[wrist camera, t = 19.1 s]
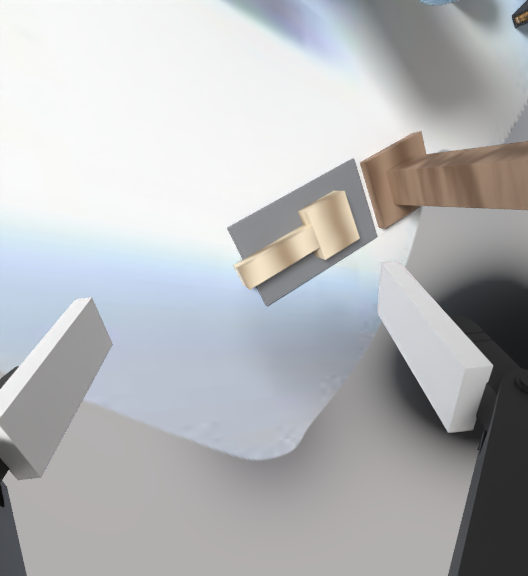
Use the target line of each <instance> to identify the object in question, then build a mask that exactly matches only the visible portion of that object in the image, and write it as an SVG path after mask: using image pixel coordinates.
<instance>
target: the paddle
mask: <svg viewBox="0 0 528 576" xmlns="http://www.w3.org/2000/svg"><path fill="white" fill-rule="evenodd" d="M298 213H299V216H300V218H301V221H302V223H303V225H302V226H300V227H298V228H297V229H295V230H293V231H292V232H290V233H288V234H286V235H285V236H283V237H281V238H280V239H278V240H276V241H274V242H273V243H271V244H269V245H268V246H266V247H264V248H262V249H261V250H259V251H257V252H256V253H254V254H252V255H250V256H249V257H247V258H245V259H244V260H242V261H240V262H238V263H237V264H235V265H233V266H234V268H235V270H236V272H237V273H238V275H239V277H240V279H241V281H242V283H243V285H244V286H246V287H247V288H248V289H252V288H254V287H255V286H257V285H259V284H260V283H262V282H264V281H265V280H267V279H268V278H270V277H272V276H273V275H275V274H277V273H278V272H280V271H282V270H283V269H285V268H287V267H288V266H290V265H291V264H293V263H295V262H296V261H298V260H300V259H301V258H303V257H305V256H306V255H308V254H310V253H311V252H313V251H314V254H315V256H316V257H318V258H321V259H324V260H326V259H328V258H329V257H331V256H332V255H334V254H336V253H337V252H339V251H340V250H342V249H344V248H345V247H347V246H349V245H350V244H352V243H353V242H355V241H357V240H358V239H360V237H359V234H358V231H357V228H356V225H355V222H354V219H353V216H352V212H351V209H350V206H349V203H348V200H347V197H346V194H345V191H332V192H331V193H329V194H327V195H325V196H324V197H322V198H320V199H318V200H317V201H315V202H313V203H311V204H310V205H308V206H306V207H304V208H302V209H301V210H299V211H298Z"/></svg>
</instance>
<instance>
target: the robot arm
mask: <svg viewBox="0 0 528 576" xmlns="http://www.w3.org/2000/svg"><path fill="white" fill-rule="evenodd" d="M419 1H420V2H422V3H424V4H427V5H443V4H448V3H451V2H454V1H457V0H419ZM377 313H378V315H379V317H380V318H381V320H382V322H383V323H384V325H385V327H386V328H387V330H388V332H389V333H390V335H391V337H392V339H393V340H394V342H395V343H396V345H397V347H398V348H399V350H400V352H401V354H402V355H403V357H404V359H405V360H406V362H407V364H408V366H409V367H410V369H411V371H412V372H413V374H414V376H415V377H416V379H417V381H418V382H419V384H420V386H421V387H422V389H423V391H424V392H425V394H426V396H427V398H428V399H429V401H430V403H431V404H432V406H433V408H434V409H435V411H436V413H437V414H438V416H439V418H440V419H441V421H442V423H443V425H444V426H445V428H446V429H447V431H448V433H450V432H459V431H468V430H473V428H474V425H475V421H476V418H478V420H479V421H480V422H481V424H482V425H483V427H484V428H485V430H484V433H483V436H482V438H481V441H480V444H479V447H478V450H479V452H478V456H477V460H476V464H475V468H474V472H473V476H472V480H471V485H470V488H469V492H468V497H467V501H466V505H465V509H464V513H463V517H462V521H461V525H460V529H459V533H458V537H457V541H456V545H455V549H454V553H453V558H452V562H451V566H450V570H449V574H448V576H528V370H524V369H521V368H520V367H519V366H518V365H517V364H516V363H515V362H514V361H513V360H512V359H511V358H510V357H509V356H508V355H507V354H506V353H505V352H504V351H503V350H502V349H501V348H500V347H499V346H498V345H497V344H496V343H495V342H494V341H492V340H491V338H490V337H489V336H488V335H487V334H486V333H484V331H483V330H482V329H481V328H480V327H479V326H478V325H477V324H476V323H475V322H474V321H472V320H471V319H469V318H467V317H465V316H463V315H462V314H455V315H447V314H446V313H445V312H444V311H443V309H442V308H441V307H440V306H439V305H438V304H437V303H436V302H435V300H434V299H433V298H432V297H431V296H430V295H429V294H428V293H427V292H426V291H425V289H424V288H423V287H422V286H421V285H420V284H419V283H418V282H417V281H416V280H415V278H414V277H413V276H412V275H411V274H410V273H409V272H408V271H407V270H406V268H405V267H404V266H403V265H402V264H401V263H400V262H399V261H390V262H381V271H380V284H379V298H378V312H377ZM112 345H113V344H112V341H111V339H110V337H109V335H108V332H107V330H106V328H105V326H104V323H103V321H102V319H101V317H100V315H99V312H98V310H97V308H96V306H95V303H94V301H93V299H92V297H91V298H83V299H75V300H74V302H73V303H72V304H71V305H70V306H69V308H68V309H67V310H66V311H65V312H64V314H63V315H62V316H61V317H60V318H59V320H58V321H57V322H56V323H55V324H54V326H53V327H52V328H51V329H50V330H49V332H48V333H47V334H46V335H45V336H44V338H43V339H42V340H41V341H40V342H39V344H38V345H37V346H36V347H35V348H34V349H33V351H32V352H31V353H30V354H29V355H28V357H27V358H26V359H25V360H24V361H23V363H22V364H21V365H20V366H18V367H15V368H14V369H13V370H11V371H10V372H9V373H7V374H6V375H5V376H3V377H2V378H1V379H0V576H27V575H26V571H25V566H24V562H23V557H22V553H21V548H20V544H19V539H18V535H17V530H16V526H15V521H14V517H13V512H12V508H11V503H10V499H9V494H8V489H7V486H6V485H5V484H4V482H3V481H2V479H3V478H4V476H5V475H6V473H7V471H8V470H10V471H11V473H12V474H13V475H14V476H15V477H16V478H17V479H18V480H23V479H32V478H41V477H42V475H43V473H44V471H45V469H46V467H47V466H48V464H49V462H50V460H51V458H52V456H53V455H54V453H55V451H56V449H57V447H58V445H59V443H60V442H61V440H62V438H63V436H64V434H65V432H66V430H67V428H68V427H69V425H70V423H71V421H72V419H73V417H74V415H75V413H76V412H77V410H78V408H79V406H80V404H81V402H82V401H83V399H84V397H85V395H86V393H87V391H88V389H89V387H90V386H91V384H92V382H93V380H94V378H95V376H96V374H97V373H98V371H99V369H100V367H101V365H102V363H103V361H104V360H105V358H106V356H107V354H108V352H109V350H110V348H111V346H112Z"/></svg>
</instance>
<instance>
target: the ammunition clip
mask: <svg viewBox="0 0 528 576" xmlns="http://www.w3.org/2000/svg"><path fill="white" fill-rule="evenodd" d="M512 18H513V22H514V25H515V28H517V27H519V26H521V25H523V24H526V23H528V0H527V1H526V2H525V3H524V4H523V5H522V6H521V7H520V8H519V9H518V10H517V11H516V12H515V13H514V14H513V15H512Z"/></svg>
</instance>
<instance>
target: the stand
mask: <svg viewBox="0 0 528 576" xmlns="http://www.w3.org/2000/svg"><path fill="white" fill-rule="evenodd" d="M360 165H361V168H362V172H363V175H364V179H365V182H366V185H367V189H368V192H369V196H370V199H371V202H372V206H373V209H374V213H375V216H376V219H377V223H378V226H379V227H381V228H387V227H388V226H390V225H392V224H393V223H395V222H396V221H398V220H400V219H401V218H403V217H404V216H406V215H408V214H409V213H411V212H412V211H414V210H416V209H417V208H419V207H420V206H440V207H465V208H490V209H515V210H528V141H526V142H518V143H511V144H502V145H495V146H487V147H479V148H472V149H464V150H456V151H448V152H441V153H433V154H426V151H425V146H424V141H423V137H422V132H421V131H420V132H415V133H412V134H410V135H408V136H407V137H405V138H403V139H401V140H400V141H398V142H396V143H394V144H392V145H391V146H389V147H387V148H385V149H383V150H382V151H380V152H378V153H376V154H375V155H373V156H371V157H369V158H367V159H366V160H364V161H362V162H360Z"/></svg>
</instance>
